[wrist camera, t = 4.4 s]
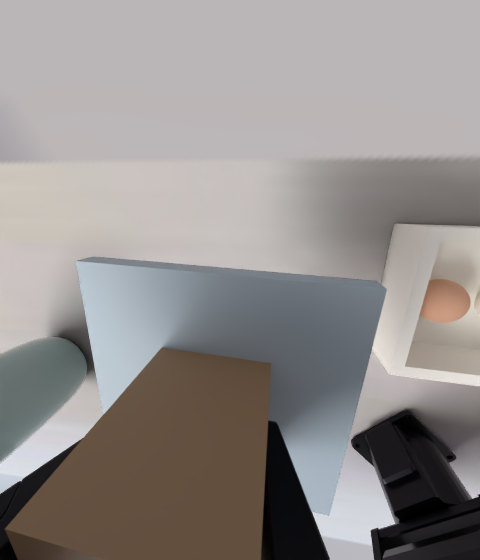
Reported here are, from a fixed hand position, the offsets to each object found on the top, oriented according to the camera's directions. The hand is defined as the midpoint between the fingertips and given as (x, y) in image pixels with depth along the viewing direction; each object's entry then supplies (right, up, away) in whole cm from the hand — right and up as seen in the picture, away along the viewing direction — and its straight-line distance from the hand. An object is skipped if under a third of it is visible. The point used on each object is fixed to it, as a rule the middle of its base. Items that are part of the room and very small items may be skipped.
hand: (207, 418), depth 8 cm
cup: (-19, -4, +18) cm, 26 cm away
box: (+17, +4, +9) cm, 20 cm away
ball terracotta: (+15, +4, +9) cm, 18 cm away
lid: (0, +1, +1) cm, 2 cm away
